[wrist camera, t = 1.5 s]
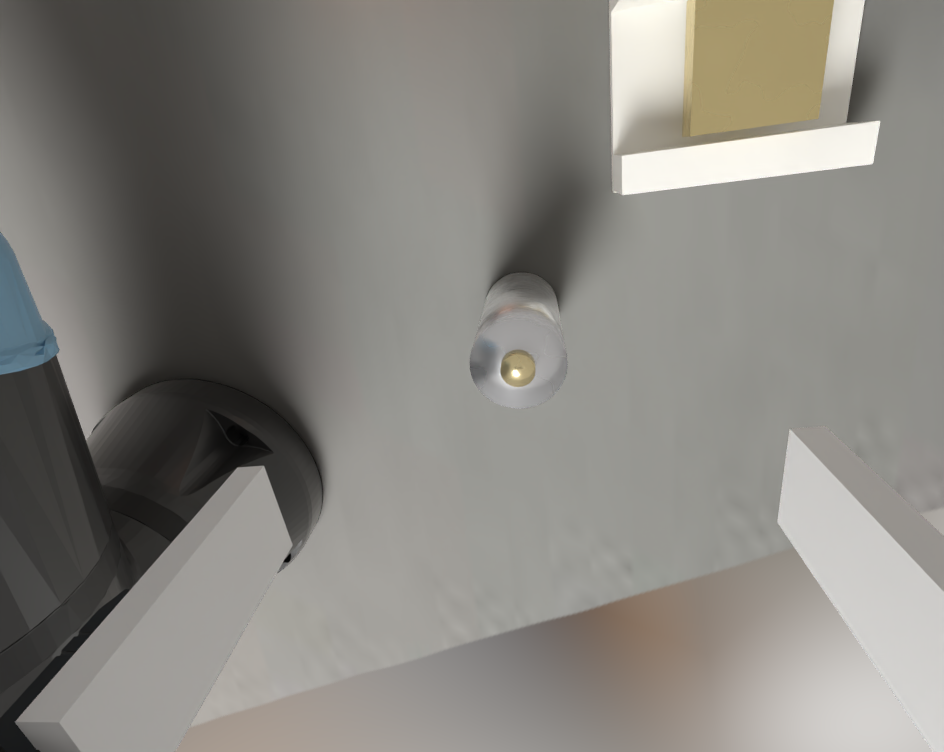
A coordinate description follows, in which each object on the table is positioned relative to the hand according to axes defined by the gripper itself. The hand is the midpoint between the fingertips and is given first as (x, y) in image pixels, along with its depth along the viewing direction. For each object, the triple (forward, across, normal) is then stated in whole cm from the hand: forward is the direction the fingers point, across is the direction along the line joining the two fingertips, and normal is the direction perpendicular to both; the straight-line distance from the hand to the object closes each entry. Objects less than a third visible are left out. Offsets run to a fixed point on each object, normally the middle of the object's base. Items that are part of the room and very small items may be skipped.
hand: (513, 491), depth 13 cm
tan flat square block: (+14, +10, +10) cm, 20 cm away
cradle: (+16, +10, +10) cm, 22 cm away
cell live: (+16, 0, 0) cm, 17 cm away
